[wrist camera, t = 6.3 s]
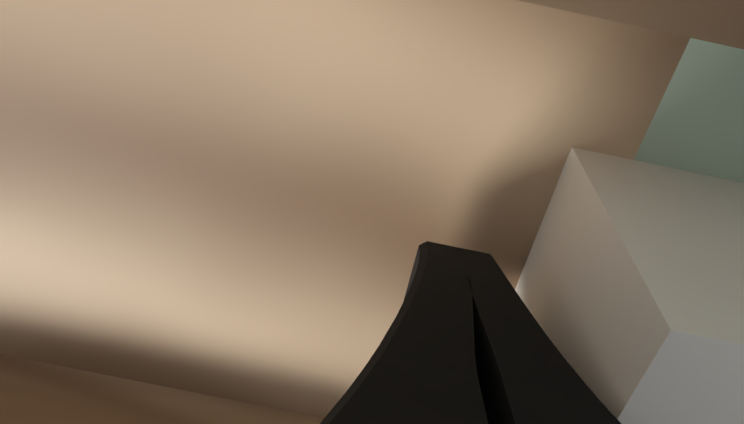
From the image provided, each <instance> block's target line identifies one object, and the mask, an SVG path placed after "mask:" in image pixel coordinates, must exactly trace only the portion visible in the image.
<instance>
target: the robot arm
mask: <svg viewBox="0 0 744 424" xmlns="http://www.w3.org/2000/svg"><path fill="white" fill-rule="evenodd" d="M320 424H621V423H620V422H619V421H618V420H617V418H616V417H615V416H614V415H613V414H612V413H611V412H610V411H609V410H608V409H607V408H606V407H605V406H604V404H603V403H602V402H601V401H600V400H599V399H598V398H597V397H596V395H595V394H594V393H593V392H592V391H591V390H590V388H589V387H588V386H587V385H586V384H585V382H584V381H583V380H582V379H581V378H580V376H579V375H578V374H577V373H576V372H575V370H574V369H573V368H572V367H571V365H570V364H569V363H568V362H567V361H566V359H565V358H564V357H563V356H562V354H561V353H560V352H559V350H558V349H557V348H556V346H555V345H554V344H553V343H552V341H551V340H550V339H549V337H548V336H547V335H546V333H545V332H544V331H543V329H542V328H541V326H540V325H539V324H538V322H537V321H536V320H535V318H534V317H533V315H532V314H531V312H530V311H529V310H528V308H527V307H526V305H525V304H524V302H523V301H522V300H521V298H520V297H519V295H518V294H517V292H516V291H515V289H514V288H513V286H512V285H511V283H510V282H509V280H508V279H507V277H506V276H505V274H504V273H503V271H502V270H501V268H500V267H499V266H498V264H497V263H496V261H495V260H494V258H493V257H492V256H491V254H488V253H483V252H478V251H473V250H468V249H464V248H459V247H454V246H449V245H444V244H439V243H434V242H429V241H426V242H424V243H422V244H421V245H419V247H418V250H417V254H416V258H415V261H414V265H413V268H412V272H411V276H410V279H409V283H408V287H407V290H406V294H405V297H404V301H403V304H402V306H401V308H400V310H399V312H398V314H397V316H396V318H395V319H394V321H393V323H392V324H391V326H390V328H389V329H388V331H387V333H386V335H385V336H384V338H383V340H382V341H381V343H380V345H379V346H378V348H377V349H376V351H375V352H374V354H373V355H372V357H371V358H370V360H369V361H368V363H367V364H366V366H365V367H364V368H363V370H362V371H361V373H360V374H359V375H358V377H357V378H356V379H355V381H354V382H353V383H352V385H351V386H350V387H349V389H348V390H347V391H346V392H345V394H344V395H343V396H342V397H341V399H340V400H339V401H338V402H337V403H336V405H335V406H334V407H333V408H332V410H331V411H330V412H329V413H328V414H327V416H326V417H325V418H324V419H323V420H322V422H321V423H320Z"/></svg>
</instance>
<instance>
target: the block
mask: <svg viewBox="0 0 744 424" xmlns="http://www.w3.org/2000/svg"><path fill="white" fill-rule="evenodd" d="M515 291H516V292H517V294H518V295H519V297H520V298H521V300H522V301H523V302H524V304H525V305H526V307H527V308H528V310H529V311H530V312H531V314H532V315H533V317H534V318H535V320H536V321H537V322H538V324H539V325H540V326H541V328H542V329H543V331H544V332H545V333H546V335H547V336H548V337H549V339H550V340H551V341H552V343H553V344H554V345H555V346H556V348H557V349H558V350H559V352H560V353H561V354H562V356H563V357H564V358H565V359H566V361H567V362H568V363H569V364H570V365H571V367H572V368H573V369H574V370H575V372H576V373H577V374H578V375H579V376H580V378H581V379H582V380H583V381H584V382H585V384H586V385H587V386H588V387H589V388H590V390H591V391H592V392H593V393H594V394H595V395H596V397H597V398H598V399H599V400H600V401H601V402H602V403H603V404H604V406H605V407H606V408H607V409H608V410H609V411H610V412H611V413H612V414H613V415H614V416H615V417H616V418H617V420H618V421H619V422H620V423H621V424H744V183H743V182H738V181H734V180H729V179H724V178H719V177H714V176H709V175H705V174H700V173H695V172H690V171H685V170H681V169H676V168H671V167H666V166H661V165H656V164H652V163H647V162H642V161H637V160H632V159H627V158H623V157H618V156H613V155H608V154H603V153H599V152H594V151H589V150H584V149H579V148H574V147H571V150H570V152H569V155H568V157H567V160H566V162H565V165H564V167H563V170H562V173H561V175H560V178H559V180H558V183H557V185H556V188H555V190H554V193H553V195H552V198H551V200H550V203H549V205H548V208H547V210H546V213H545V215H544V218H543V220H542V223H541V225H540V228H539V230H538V233H537V235H536V238H535V241H534V243H533V246H532V248H531V251H530V253H529V256H528V258H527V261H526V263H525V266H524V268H523V271H522V273H521V276H520V278H519V281H518V283H517V286H516V288H515Z"/></svg>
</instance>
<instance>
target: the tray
mask: <svg viewBox="0 0 744 424" xmlns="http://www.w3.org/2000/svg"><path fill="white" fill-rule="evenodd" d="M571 147H574V148H579V149H584V150H589V151H594V152H599V153H603V154H608V155H613V156H618V157H623V158H627V159H632V160H637V161H642V162H647V163H652V164H656V165H661V166H666V167H671V168H676V169H681V170H685V171H690V172H695V173H700V174H705V175H709V176H714V177H719V178H724V179H729V180H734V181H738V182H743V183H744V0H0V424H320V423H321V422H322V420H323V419H324V418H325V417H326V416H327V414H328V413H329V412H330V411H331V410H332V408H333V407H334V406H335V405H336V403H337V402H338V401H339V400H340V399H341V397H342V396H343V395H344V394H345V392H346V391H347V390H348V389H349V387H350V386H351V385H352V383H353V382H354V381H355V379H356V378H357V377H358V375H359V374H360V373H361V371H362V370H363V368H364V367H365V366H366V364H367V363H368V361H369V360H370V358H371V357H372V355H373V354H374V352H375V351H376V349H377V348H378V346H379V345H380V343H381V341H382V340H383V338H384V336H385V335H386V333H387V331H388V329H389V328H390V326H391V324H392V323H393V321H394V319H395V318H396V316H397V314H398V312H399V310H400V308H401V306H402V304H403V301H404V297H405V294H406V290H407V287H408V283H409V279H410V276H411V272H412V268H413V265H414V261H415V258H416V254H417V250H418V247H419V245H421V244H422V243H424V242H426V241H429V242H434V243H439V244H444V245H449V246H454V247H459V248H464V249H468V250H473V251H478V252H483V253H488V254H491V256H492V257H493V258H494V260H495V261H496V263H497V264H498V266H499V267H500V268H501V270H502V271H503V273H504V274H505V276H506V277H507V279H508V280H509V282H510V283H511V285H512V286H513V288H514V289H515V288H516V286H517V283H518V281H519V278H520V276H521V273H522V271H523V268H524V266H525V263H526V261H527V258H528V256H529V253H530V251H531V248H532V246H533V243H534V241H535V238H536V235H537V233H538V230H539V228H540V225H541V223H542V220H543V218H544V215H545V213H546V210H547V208H548V205H549V203H550V200H551V198H552V195H553V193H554V190H555V188H556V185H557V183H558V180H559V178H560V175H561V173H562V170H563V167H564V165H565V162H566V160H567V157H568V155H569V152H570V150H571Z"/></svg>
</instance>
